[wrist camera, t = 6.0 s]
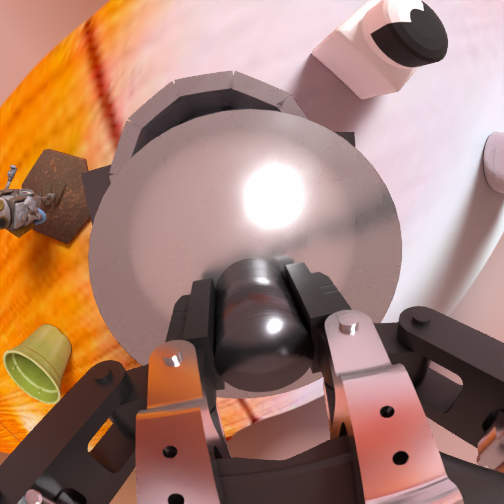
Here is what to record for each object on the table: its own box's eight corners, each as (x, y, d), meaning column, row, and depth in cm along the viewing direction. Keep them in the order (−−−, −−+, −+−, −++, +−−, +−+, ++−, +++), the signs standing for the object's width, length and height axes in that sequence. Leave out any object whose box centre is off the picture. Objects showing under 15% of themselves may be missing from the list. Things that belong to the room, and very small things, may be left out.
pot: (312, 89, 23) (350, 68, 15) (323, 227, 29) (360, 262, 20) (113, 119, 22) (67, 113, 14) (140, 253, 28) (110, 297, 19)
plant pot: (22, 310, 29) (-8, 345, 21) (70, 316, 30) (41, 358, 22) (43, 358, 33) (22, 395, 25) (89, 367, 33) (70, 410, 25)
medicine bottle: (394, 63, 22) (468, 41, 11) (361, 101, 24) (436, 86, 13) (347, 18, 20) (406, -28, 9) (309, 53, 22) (362, 5, 11)
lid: (385, 105, 10) (469, 97, 5) (378, 355, 15) (415, 415, 10) (64, 158, 9) (-17, 177, 5) (154, 395, 14) (142, 464, 10)
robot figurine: (110, 166, 24) (40, 187, 13) (92, 249, 27) (35, 306, 16) (33, 144, 22) (-42, 157, 11) (22, 220, 25) (-43, 259, 14)
